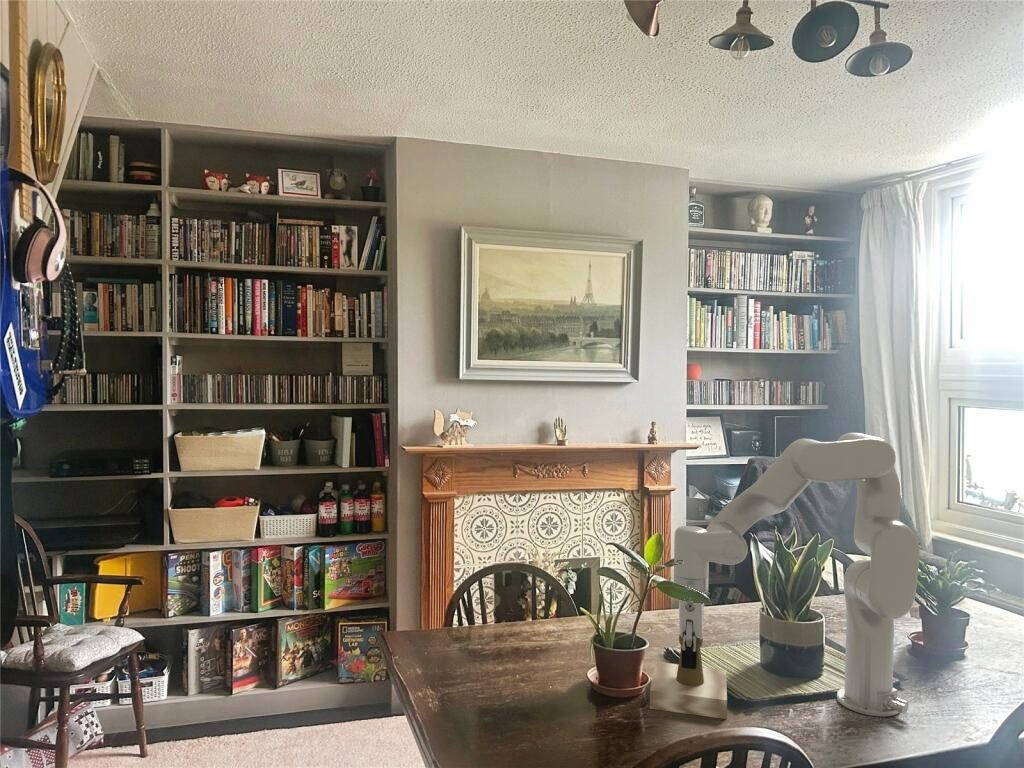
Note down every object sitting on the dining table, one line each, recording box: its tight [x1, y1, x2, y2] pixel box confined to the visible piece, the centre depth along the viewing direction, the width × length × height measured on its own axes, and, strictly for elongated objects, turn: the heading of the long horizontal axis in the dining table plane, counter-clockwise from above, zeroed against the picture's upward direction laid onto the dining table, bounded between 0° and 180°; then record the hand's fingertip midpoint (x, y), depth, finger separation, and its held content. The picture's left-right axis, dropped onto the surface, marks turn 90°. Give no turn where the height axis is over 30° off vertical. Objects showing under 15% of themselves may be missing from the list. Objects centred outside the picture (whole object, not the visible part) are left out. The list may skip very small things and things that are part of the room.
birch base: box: [649, 661, 728, 720], centre depth 163 cm, size 16×16×4 cm
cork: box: [676, 633, 704, 686], centre depth 163 cm, size 6×6×11 cm
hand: (689, 660), depth 163 cm, fingers open, 8 cm apart
